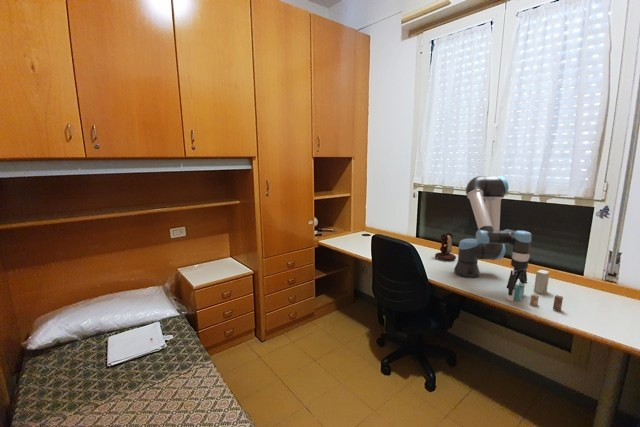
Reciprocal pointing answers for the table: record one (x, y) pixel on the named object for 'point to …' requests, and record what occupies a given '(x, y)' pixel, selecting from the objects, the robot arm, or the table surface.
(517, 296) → the teal block
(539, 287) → the skincare box
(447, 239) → the brown statuette
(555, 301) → the post
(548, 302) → the table surface
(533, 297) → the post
